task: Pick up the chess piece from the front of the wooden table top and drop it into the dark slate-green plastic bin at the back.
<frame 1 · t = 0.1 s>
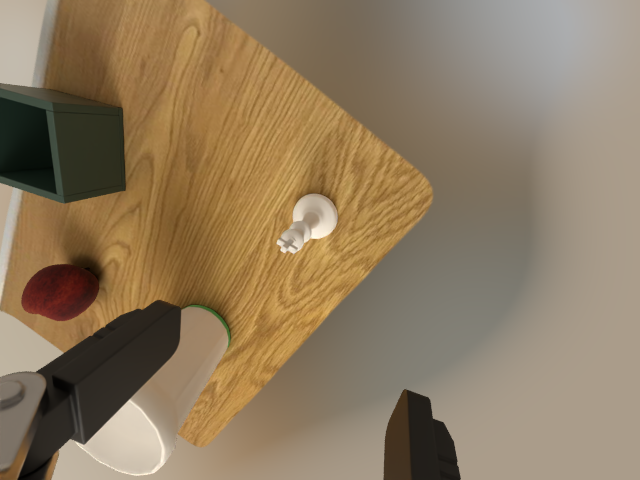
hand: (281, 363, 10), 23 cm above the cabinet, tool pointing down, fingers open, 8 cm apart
bin: (90, 141, 36), on the cabinet
cup: (204, 329, 42), on the cabinet
apple: (91, 276, 44), on the cabinet
chess piece: (315, 215, 32), on the cabinet
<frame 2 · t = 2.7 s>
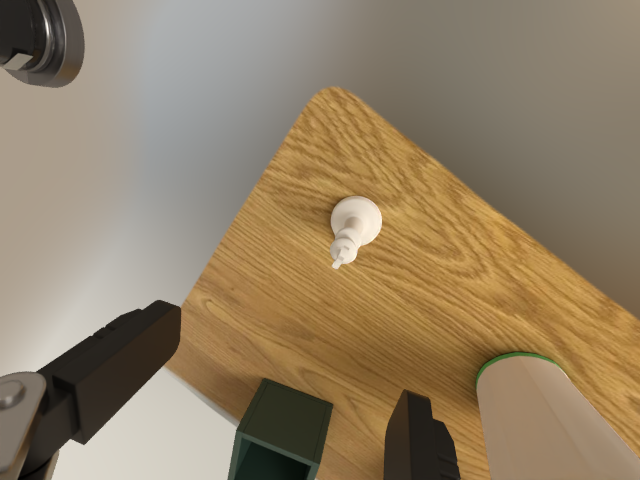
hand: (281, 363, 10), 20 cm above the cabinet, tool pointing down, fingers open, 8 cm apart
bin: (291, 415, 40), on the cabinet
cup: (519, 383, 31), on the cabinet
chess piece: (356, 220, 29), on the cabinet
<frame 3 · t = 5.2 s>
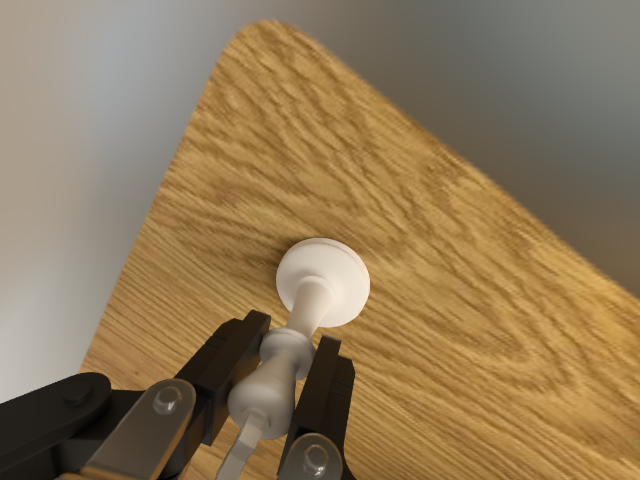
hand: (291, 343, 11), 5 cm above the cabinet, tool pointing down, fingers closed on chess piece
chess piece: (323, 279, 16), on the cabinet, touching gripper
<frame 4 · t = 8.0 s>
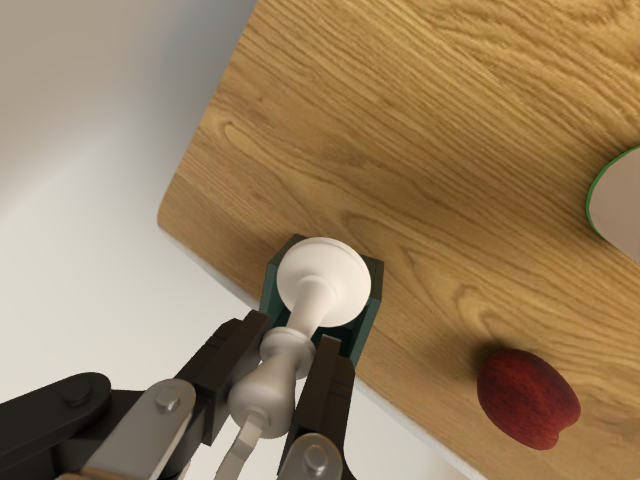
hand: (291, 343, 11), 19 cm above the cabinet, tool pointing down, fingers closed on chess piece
bin: (327, 286, 32), on the cabinet
apple: (505, 362, 31), on the cabinet
chess piece: (324, 279, 16), point 14 cm above the cabinet, touching gripper
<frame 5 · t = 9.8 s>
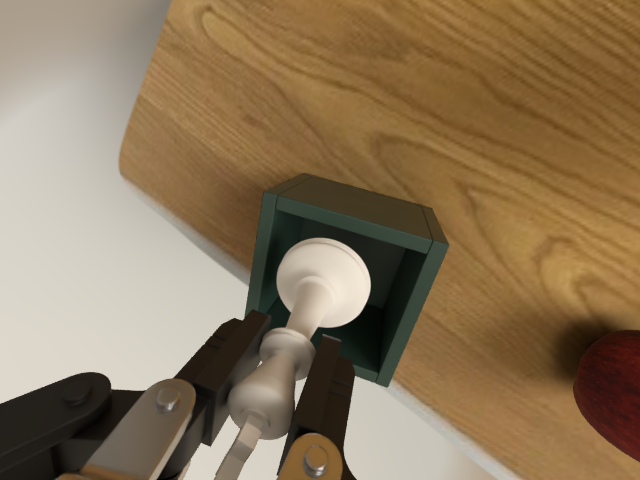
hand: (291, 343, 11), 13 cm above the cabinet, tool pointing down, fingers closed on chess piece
bin: (349, 248, 23), on the cabinet
apple: (606, 352, 21), on the cabinet
chess piece: (324, 279, 16), point 8 cm above the cabinet, touching gripper
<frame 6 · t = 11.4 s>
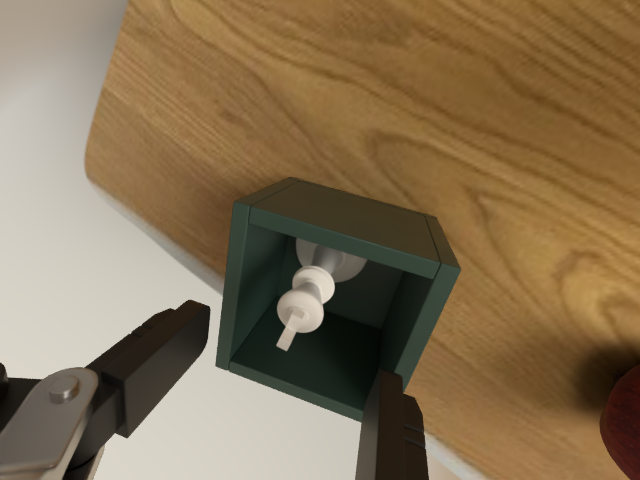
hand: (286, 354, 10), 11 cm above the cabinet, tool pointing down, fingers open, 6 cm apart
bin: (342, 261, 21), on the cabinet
apple: (636, 381, 19), on the cabinet
chess piece: (333, 244, 20), resting on bin
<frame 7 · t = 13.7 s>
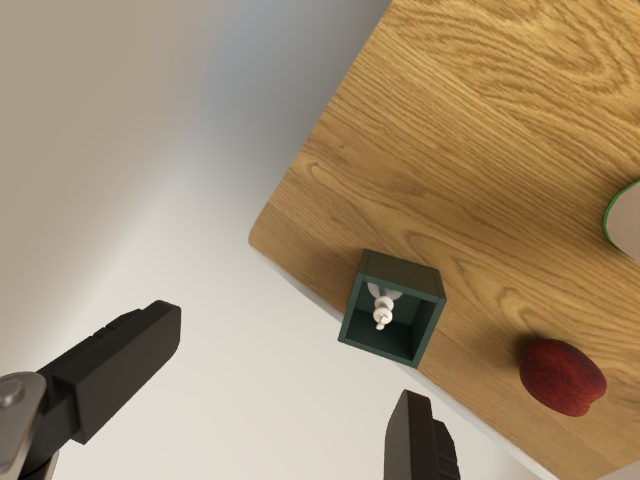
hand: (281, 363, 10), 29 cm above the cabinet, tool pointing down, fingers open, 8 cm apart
bin: (390, 290, 40), on the cabinet
apple: (541, 351, 37), on the cabinet
chess piece: (386, 281, 39), resting on bin
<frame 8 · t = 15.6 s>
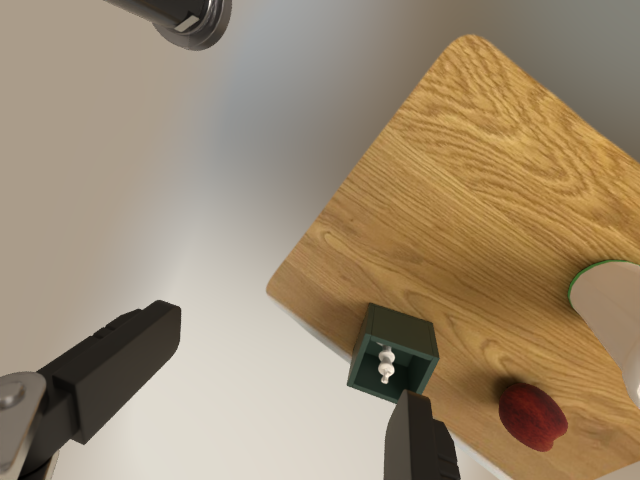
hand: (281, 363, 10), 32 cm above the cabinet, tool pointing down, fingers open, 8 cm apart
bin: (390, 337, 46), on the cabinet
cup: (606, 289, 37), on the cabinet
apple: (517, 391, 44), on the cabinet
chess piece: (387, 330, 45), resting on bin
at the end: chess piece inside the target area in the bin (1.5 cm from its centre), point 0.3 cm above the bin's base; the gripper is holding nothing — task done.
